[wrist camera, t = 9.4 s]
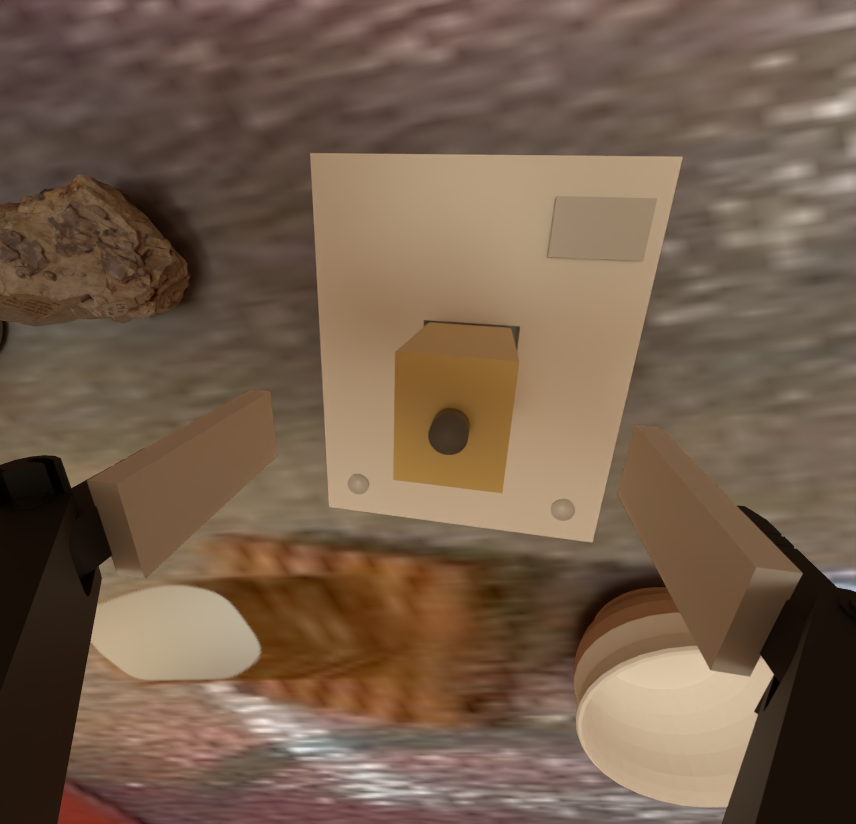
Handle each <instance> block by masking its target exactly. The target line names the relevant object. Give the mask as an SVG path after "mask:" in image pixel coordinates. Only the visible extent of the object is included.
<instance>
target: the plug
mask: <svg viewBox="0 0 856 824" xmlns="http://www.w3.org/2000/svg"><path fill="white" fill-rule="evenodd" d="M518 368H519V358H518V354H517V350H516V346H515V342H514V338H513V334H512V330H511V328H505V327H491V326H476V325H461V324H446V323H431V322H429V323H428V324H427V325H426V326H425V327H423V328H422V329H421V330H420V331H419V332H418V333H416V334H415V335H414V336H413V337H412V338H411V339H409V340H408V341H407V342H406V343H405V344H404V345H402V346H401V347H400V348H399V349H398V350H397V351H395V388H394V457H393V480H398V481H406V482H414V483H423V484H431V485H439V486H447V487H455V488H463V489H471V490H479V491H487V492H496V493H502V492H503V485H504V477H505V469H506V461H507V454H508V446H509V438H510V430H511V423H512V415H513V407H514V399H515V392H516V384H517V376H518Z"/></svg>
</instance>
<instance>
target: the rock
mask: <svg viewBox="0 0 856 824" xmlns="http://www.w3.org/2000/svg"><path fill="white" fill-rule="evenodd" d="M190 276H191V275H190V274H189V272H188V270H187V263H186V261H185V259H183V258H182V257H181V255H180V254H179V253H178V252H177V251H176V250H175V249H174V248H173V247H172V246H171V243H170V242H169V240H167V239H166V238H164V237H163V235H162V234H161V233H160V232H159V230H158V229H157V228H156V227H155V226H154V225H153V224H152V222H151V221H150V220H149V218H148V217H147V216H146V215H145V214H144V213H142V212H141V211H140V210H139V209H138V208H136V207H135V206H134V205H133V204H132V202H131V201H130V200H129V198H128V196H127V195H125V194H124V193H122V191H120V190H119V189H116V188H114V187H112V186H110V185H107V184H104V183H102V182H99V181H97V180H95V179H93V178H91V177H89V176H87V175H77V176H76V177H75V178H74V180H73V181H72V182H71V183H69V184H68V185H67V186H66V187H61V188H57V189H52V188H51V189H49V190H46V189H44V190H43V191H42V192H41V193H40V194H38V195H35V196H26V197H24V198H22V199H20V203H6V204H2V205H0V320H2V321H7V322H20V323H21V324H24V325H30V326H43V325H50V324H57V323H67V322H70V321H73V320H76V319H98V318H101V319H102V318H108V317H111V318H112V319H113V320H114V321H116V322H122V323H125V322H129V321H130V320H132V319H133V318H144V317H147V318H149V317H150V316H154V315H155V314H157V313H158V312H160V313H164V312H167V311H170V310H173V309H175V308H176V307H177V306H178V303H179V302H181V299H182V297H183V291H184V290H185V289H186V288H187V287H189V282H188V279H189V278H190Z"/></svg>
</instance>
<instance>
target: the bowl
mask: <svg viewBox="0 0 856 824" xmlns="http://www.w3.org/2000/svg"><path fill="white" fill-rule="evenodd" d="M773 675H774V674H773V672H772V671H771V670H770V668H769V667H768V665H767V664H766V662H765V661H764V659H763V658H762V656H760V658H759V660H758V662H757V664H756V666H755V668H754V670H753V672H752V674H751V676H750V677H748V676H742V675H736V674H730V673H724V672H717V671H711V670H710V669H709V667H708V665H707V663H706V661H705V660H704V658H703V656H702V654H701V652H700V650H699V648H698V646H697V644H696V642H695V641H694V639H693V637H692V635H691V633H690V631H689V629H688V627H687V625H686V623H685V622H684V620H683V618H682V616H681V614H680V612H679V610H678V608H677V606H676V605H675V603H674V601H673V599H672V597H671V595H670V593H669V591H668V589H667V587H650V588H643V589H637V590H634V591H630V592H627V593H624V594H622V595H620V596H618V597H616V598H614V599H613V600H611V601H610V602H609V603H607V604H606V605H605V606H604V607H603V608H602V609H601V610H600V611H599V612H598V613H597V615H596V617H595V619H594V621H593V622H592V623H591V624H590V625H589V627H588V628H587V630H586V631H585V633H584V635H583V637H582V639H581V641H580V644H579V646H578V649H577V652H576V656H575V660H574V691H575V696H576V699H577V703H578V711H577V715H576V728H577V734H578V737H579V740H580V742H581V745H582V747H583V749H584V750H585V752H586V753H587V755H588V756H589V758H590V759H591V761H592V762H593V763H594V764H595V765H596V766H597V767H598V768H599V769H600V770H601V771H602V772H603V773H604V774H605V775H607V776H608V777H610V778H611V779H613V780H614V781H616V782H617V783H619V784H620V785H622V786H624V787H626V788H628V789H630V790H632V791H634V792H636V793H638V794H641V795H644V796H647V797H650V798H653V799H656V800H659V801H664V802H669V803H673V804H678V805H685V806H695V807H727V806H728V803H729V800H730V797H731V794H732V791H733V788H734V785H735V782H736V779H737V776H738V773H739V770H740V767H741V764H742V761H743V758H744V755H745V752H746V749H747V746H748V743H749V740H750V737H751V734H752V731H753V728H754V725H755V722H756V719H757V716H758V714H757V713H755V712H754V710H755V709H756V707H757V705H758V703H759V701H760V699H761V698H762V696H763V694H764V692H765V690H766V688H767V686H768V685H769V683H770V681H771V679H772V677H773Z"/></svg>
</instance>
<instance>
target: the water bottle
mask: <svg viewBox="0 0 856 824" xmlns="http://www.w3.org/2000/svg"><path fill="white" fill-rule="evenodd" d="M2 336H3V323H2V320H0V344H1V340H2Z"/></svg>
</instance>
